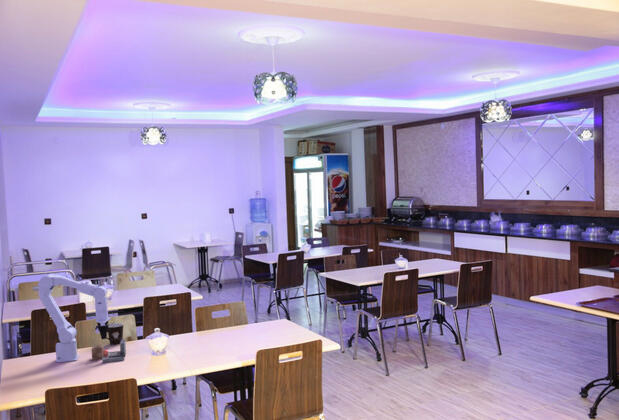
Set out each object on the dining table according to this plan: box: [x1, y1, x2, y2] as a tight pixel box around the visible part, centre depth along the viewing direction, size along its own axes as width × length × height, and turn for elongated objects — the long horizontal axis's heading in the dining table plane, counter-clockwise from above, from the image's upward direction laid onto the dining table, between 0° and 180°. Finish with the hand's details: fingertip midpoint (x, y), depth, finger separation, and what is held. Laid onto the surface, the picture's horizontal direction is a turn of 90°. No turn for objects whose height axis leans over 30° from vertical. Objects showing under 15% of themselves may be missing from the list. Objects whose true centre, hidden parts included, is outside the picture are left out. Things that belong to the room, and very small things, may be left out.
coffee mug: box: [106, 322, 124, 346], centre depth 311 cm, size 12×9×10 cm
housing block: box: [91, 344, 105, 361], centre depth 283 cm, size 5×5×6 cm
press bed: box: [101, 338, 127, 364], centre depth 283 cm, size 10×14×7 cm
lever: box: [101, 349, 109, 360], centre depth 277 cm, size 3×3×4 cm
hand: (103, 337), depth 286 cm, fingers open, 7 cm apart
